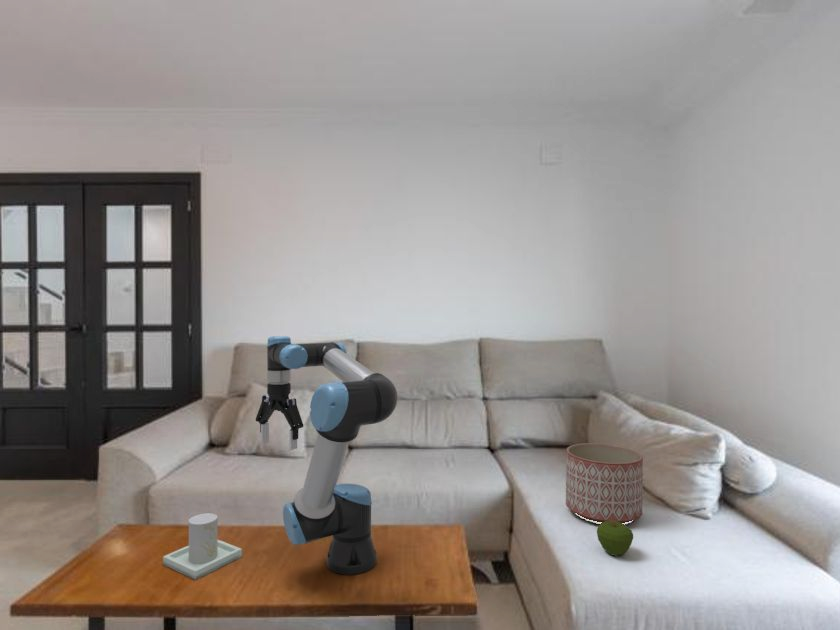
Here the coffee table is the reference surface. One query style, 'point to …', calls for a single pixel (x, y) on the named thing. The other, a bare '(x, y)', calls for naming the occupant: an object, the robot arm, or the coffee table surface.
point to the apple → (614, 537)
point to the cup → (203, 538)
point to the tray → (196, 571)
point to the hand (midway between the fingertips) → (278, 446)
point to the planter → (604, 482)
